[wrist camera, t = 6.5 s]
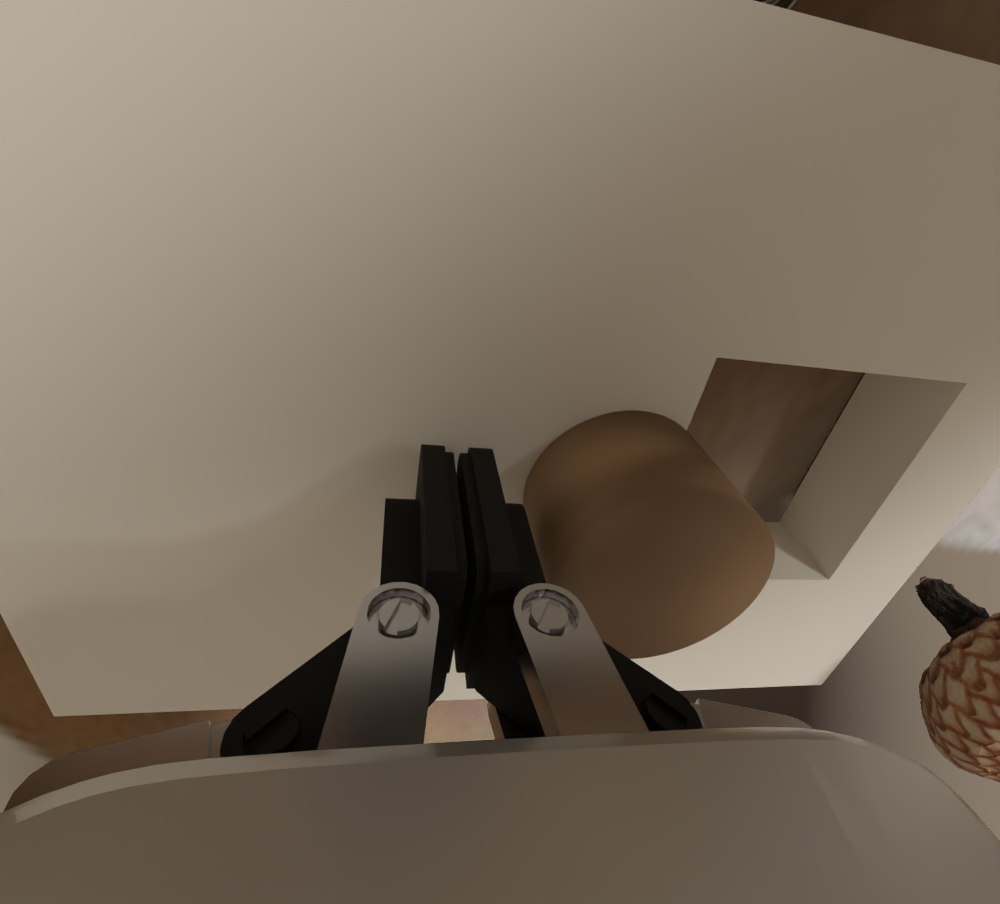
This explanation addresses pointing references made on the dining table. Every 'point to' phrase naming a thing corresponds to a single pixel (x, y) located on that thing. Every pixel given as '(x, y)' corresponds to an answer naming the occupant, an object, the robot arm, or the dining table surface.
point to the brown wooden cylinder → (645, 532)
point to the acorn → (963, 682)
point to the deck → (459, 303)
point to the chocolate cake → (780, 3)
